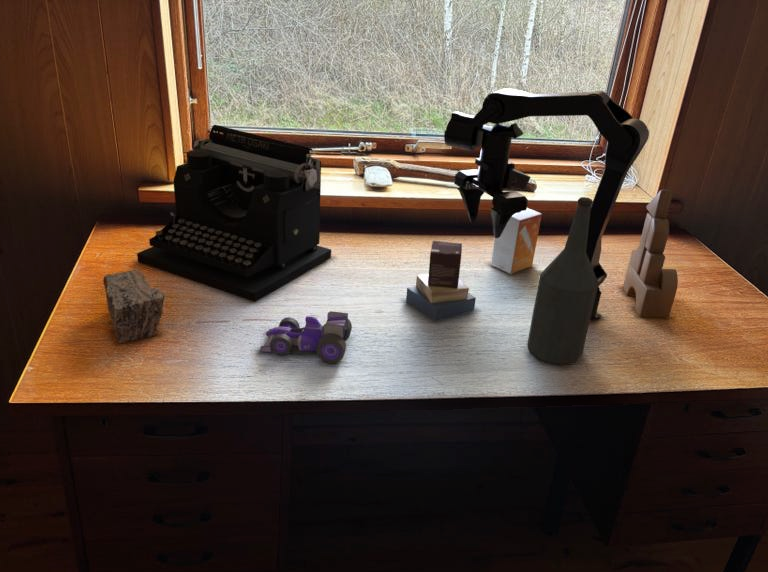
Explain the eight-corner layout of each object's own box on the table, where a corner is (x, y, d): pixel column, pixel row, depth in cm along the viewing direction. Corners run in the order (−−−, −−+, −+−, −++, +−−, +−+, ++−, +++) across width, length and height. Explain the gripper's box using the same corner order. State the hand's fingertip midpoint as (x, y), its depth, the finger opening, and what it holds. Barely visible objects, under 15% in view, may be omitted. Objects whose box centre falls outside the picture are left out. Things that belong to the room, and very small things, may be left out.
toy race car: (271, 330, 138) (270, 298, 134) (351, 338, 137) (352, 307, 134) (258, 356, 129) (257, 323, 126) (343, 365, 129) (344, 332, 126)
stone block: (171, 337, 132) (167, 299, 129) (118, 346, 128) (112, 307, 124) (154, 303, 143) (150, 266, 139) (104, 310, 139) (99, 273, 135)
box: (458, 276, 151) (462, 243, 147) (457, 289, 146) (461, 255, 142) (429, 273, 151) (432, 239, 147) (426, 286, 146) (430, 251, 142)
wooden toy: (670, 318, 155) (704, 204, 142) (639, 317, 154) (670, 201, 141) (648, 286, 168) (677, 178, 155) (620, 284, 168) (646, 176, 155)
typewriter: (137, 261, 158) (122, 144, 144) (223, 225, 178) (216, 119, 165) (254, 302, 146) (250, 178, 133) (331, 257, 167) (333, 147, 154)
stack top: (467, 299, 148) (469, 288, 147) (430, 303, 145) (432, 292, 144) (451, 282, 154) (452, 271, 153) (415, 285, 152) (416, 274, 150)
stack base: (474, 310, 151) (476, 297, 149) (435, 321, 145) (436, 308, 144) (444, 291, 157) (445, 278, 156) (405, 300, 152) (407, 287, 151)
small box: (510, 274, 167) (519, 220, 160) (489, 265, 171) (497, 211, 164) (533, 266, 172) (542, 213, 166) (512, 257, 176) (520, 204, 169)
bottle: (569, 373, 133) (605, 214, 117) (519, 356, 137) (547, 199, 121) (587, 349, 141) (623, 197, 125) (539, 334, 144) (568, 184, 129)
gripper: (555, 166, 144) (542, 241, 152) (501, 140, 158) (491, 210, 166) (508, 171, 139) (497, 248, 147) (457, 143, 153) (449, 215, 161)
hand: (484, 229), depth 156 cm, fingers open, 9 cm apart
